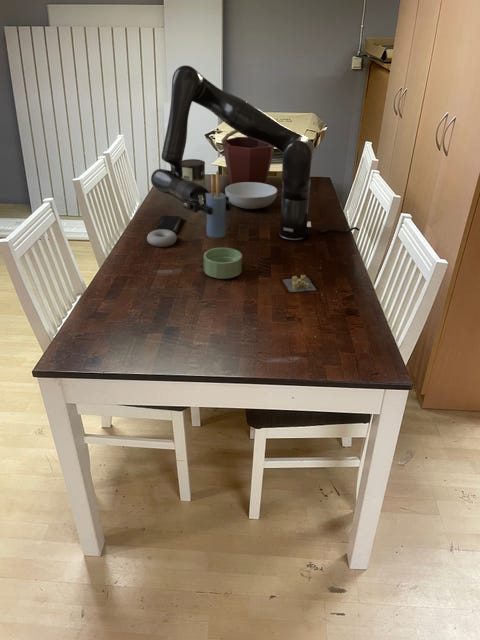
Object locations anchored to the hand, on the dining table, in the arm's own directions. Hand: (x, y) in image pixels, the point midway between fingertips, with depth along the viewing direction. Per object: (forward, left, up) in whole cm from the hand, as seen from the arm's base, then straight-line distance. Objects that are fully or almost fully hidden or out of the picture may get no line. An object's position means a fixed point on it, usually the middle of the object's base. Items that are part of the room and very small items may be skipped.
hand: (220, 209), depth 152 cm
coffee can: (+20, -65, -18) cm, 70 cm away
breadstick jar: (+2, -2, -8) cm, 9 cm away
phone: (+23, -29, -18) cm, 41 cm away
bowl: (-1, +5, -18) cm, 19 cm away
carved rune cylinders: (-24, +11, -18) cm, 32 cm away
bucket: (-2, -84, -18) cm, 86 cm away
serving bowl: (-5, -56, -18) cm, 59 cm away
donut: (+22, -14, -18) cm, 31 cm away
